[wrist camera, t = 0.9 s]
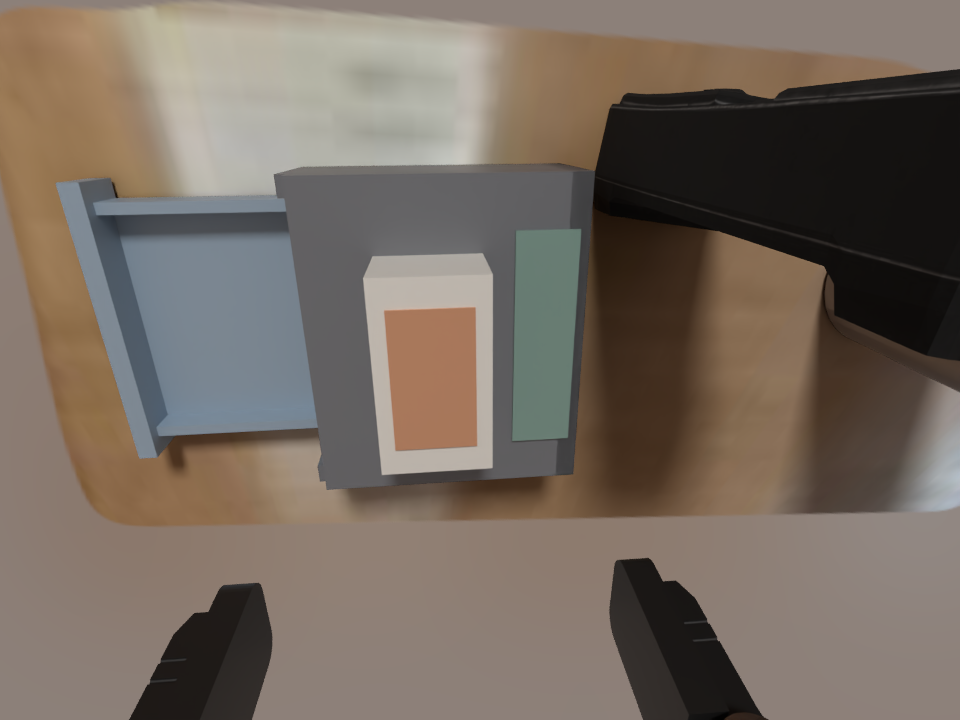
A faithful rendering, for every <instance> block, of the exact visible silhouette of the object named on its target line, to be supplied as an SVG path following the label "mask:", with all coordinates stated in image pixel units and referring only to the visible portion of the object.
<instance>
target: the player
mask: <svg viewBox="0 0 960 720" xmlns="http://www.w3.org/2000/svg"><path fill="white" fill-rule="evenodd" d="M594 179H595V171H593V170H588V169H583V168H579V167H574V166H570V165H565V164H560V163H558V164H484V165H409V166H335V167H300V168H296V169H293V170H289V171H285V172H281V173H278V174H274V180H275V186H276V193H277V199H278V198H284V200H285V207H286V214H287V220H288V227H289V234H290V241H291V248H292V255H293V261H294V268H295V275H296V282H297V289H298V296H299V303H300V309H301V316H302V323H303V330H304V337H305V344H306V350H307V357H308V364H309V371H310V378H311V385H312V392H313V398H314V405H315V412H316V419H317V426H318V433H319V440H320V446H321V453H322V455H321V458H320V461H319V464H318V471H319V478H320V481H326V487H327V490H331V489H347V488H363V487H379V486H395V485H410V484H426V483H442V482H458V481H474V480H490V479H506V478H521V477H537V476H553V475H569V474H573V469H574V455H575V441H576V427H577V413H578V400H579V386H580V372H581V358H582V344H583V331H584V317H585V303H586V289H587V275H588V261H589V248H590V234H591V220H592V206H593V192H594ZM477 253H483V255H484V257H485V259H486V261H487V263H488V265H489V267H490V269H491V272H492V274H493V468H488V469H471V470H455V471H439V472H423V473H406V474H390V475H382V471H381V461H380V451H379V440H378V430H377V419H376V409H375V398H374V388H373V377H372V367H371V357H370V346H369V336H368V325H367V315H366V304H365V294H364V283H363V277H364V275H365V273H366V270H367V268H368V266H369V263H370V261H371V259H372V256H404V255H441V254H477Z"/></svg>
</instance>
